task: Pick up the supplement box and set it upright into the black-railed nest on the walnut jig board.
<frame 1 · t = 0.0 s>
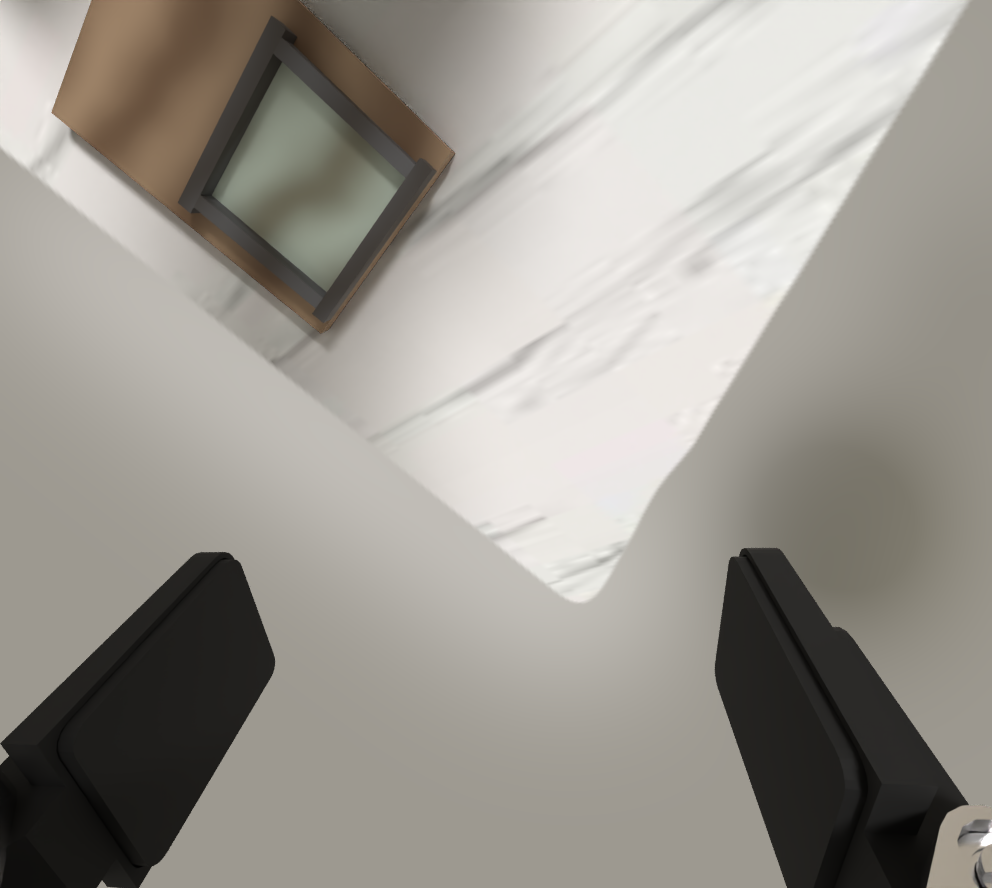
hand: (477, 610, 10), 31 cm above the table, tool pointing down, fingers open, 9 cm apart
jig board: (259, 134, 35), on the table
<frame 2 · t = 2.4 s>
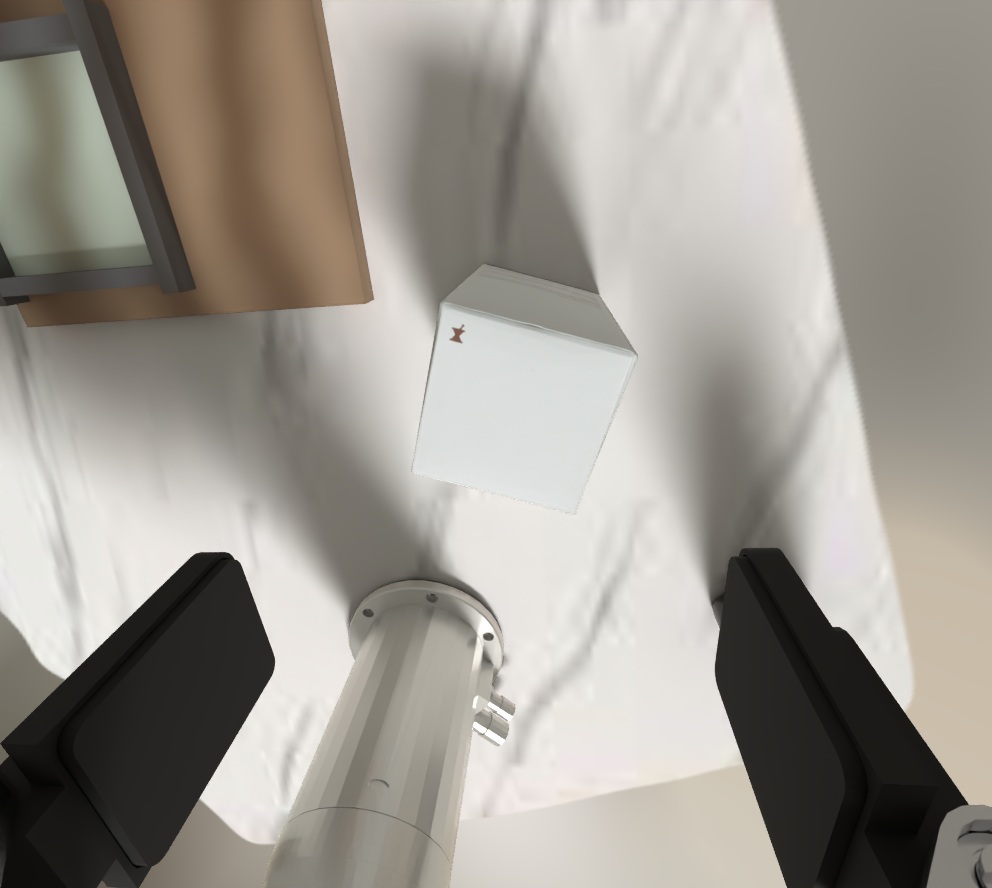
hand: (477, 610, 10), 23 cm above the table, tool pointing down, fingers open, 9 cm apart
jig board: (159, 166, 28), on the table
supplement box: (526, 338, 31), on the table
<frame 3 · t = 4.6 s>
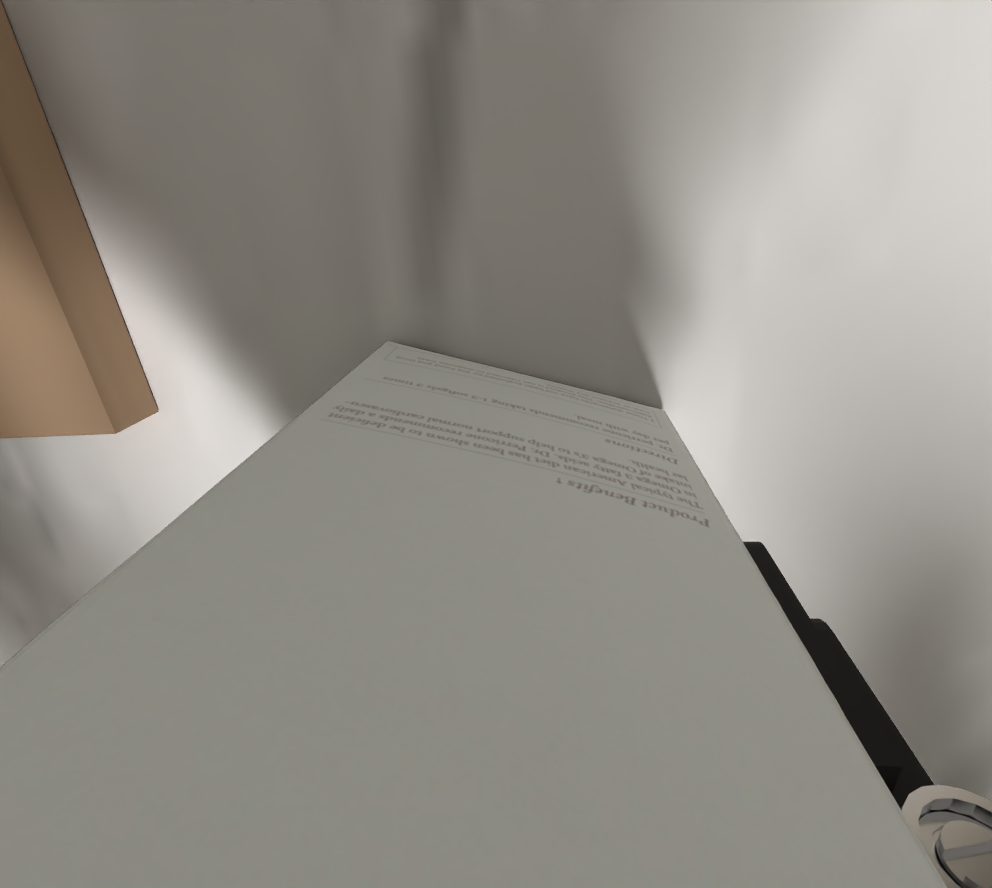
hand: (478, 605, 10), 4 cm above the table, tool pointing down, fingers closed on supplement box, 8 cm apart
supplement box: (497, 492, 14), on the table, touching gripper
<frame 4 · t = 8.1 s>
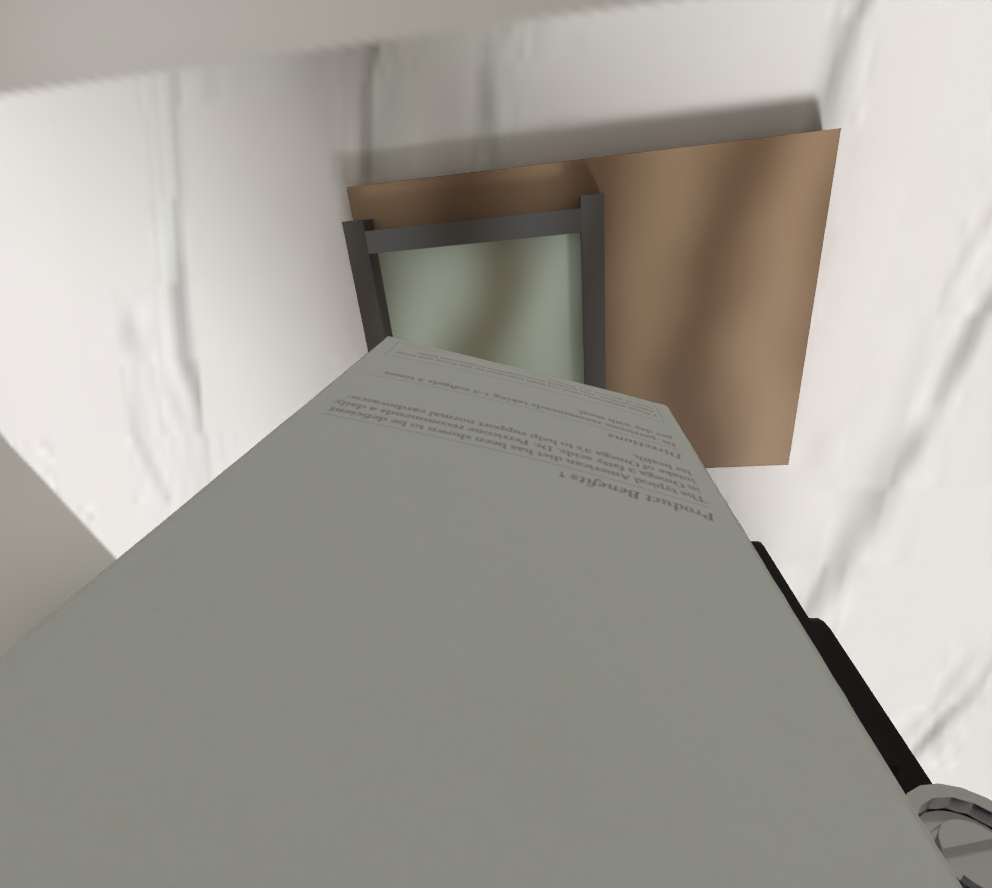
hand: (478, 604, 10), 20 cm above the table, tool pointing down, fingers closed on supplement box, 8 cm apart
jig board: (581, 329, 28), on the table
supplement box: (499, 489, 14), point 16 cm above the table, touching gripper
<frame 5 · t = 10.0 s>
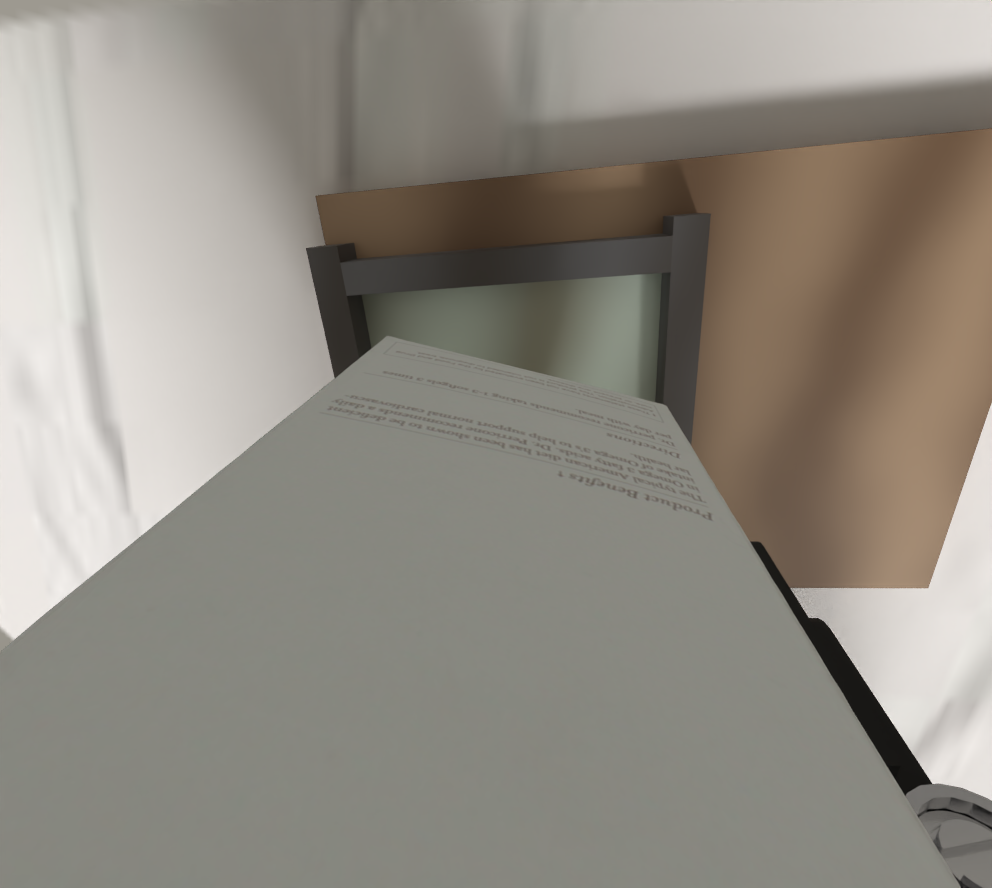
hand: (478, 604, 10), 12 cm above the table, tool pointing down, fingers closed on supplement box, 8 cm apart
jig board: (646, 398, 20), on the table
supplement box: (498, 488, 14), point 7 cm above the table, touching gripper
when the fingers open (6 cm above the table, at t = 11.6 s): supplement box stays where it is, resting on jig board.
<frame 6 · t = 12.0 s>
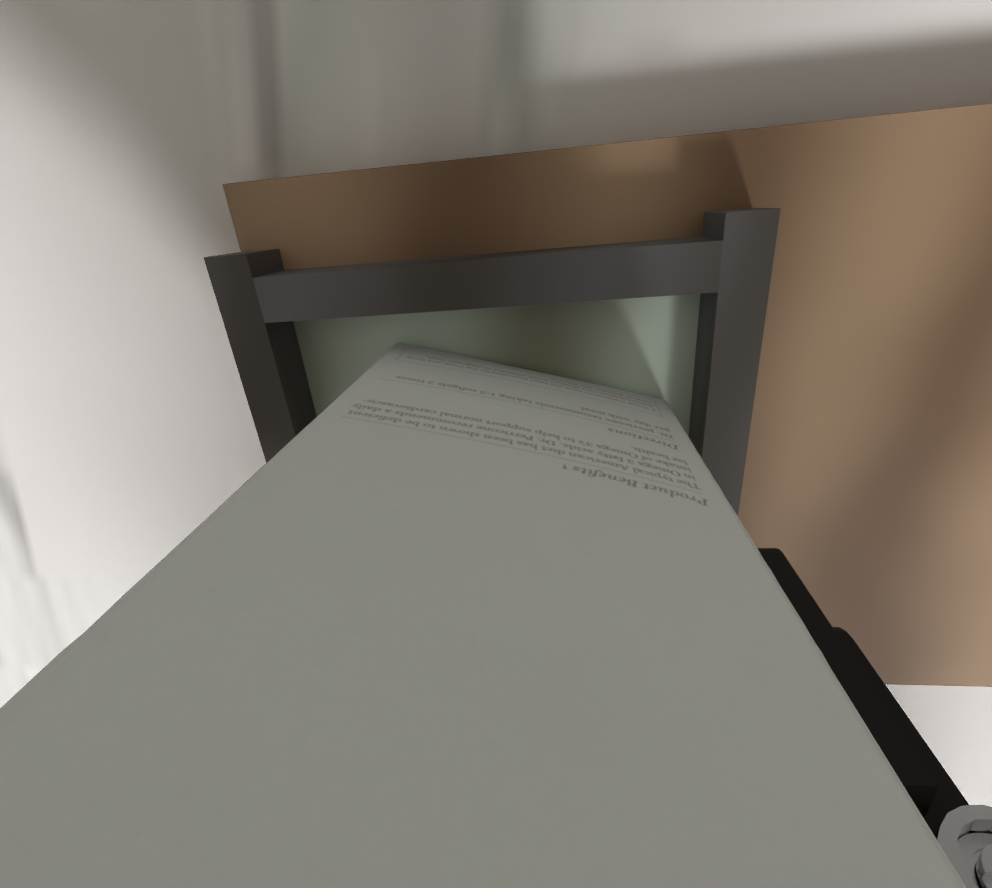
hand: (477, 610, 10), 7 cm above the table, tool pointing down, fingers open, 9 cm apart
jig board: (671, 448, 15), on the table
supplement box: (507, 484, 15), point 1 cm above the table, touching jig board
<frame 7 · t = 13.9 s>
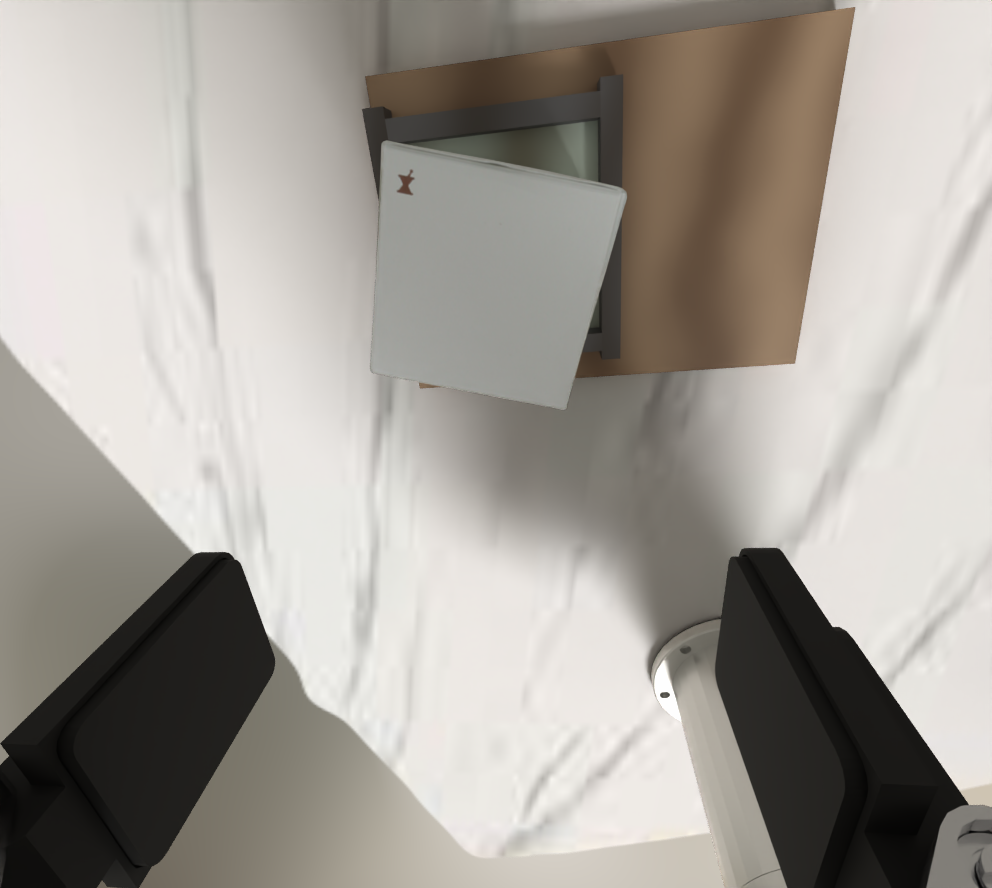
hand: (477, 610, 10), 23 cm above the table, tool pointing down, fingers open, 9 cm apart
jig board: (595, 230, 28), on the table
supplement box: (506, 246, 27), point 1 cm above the table, touching jig board
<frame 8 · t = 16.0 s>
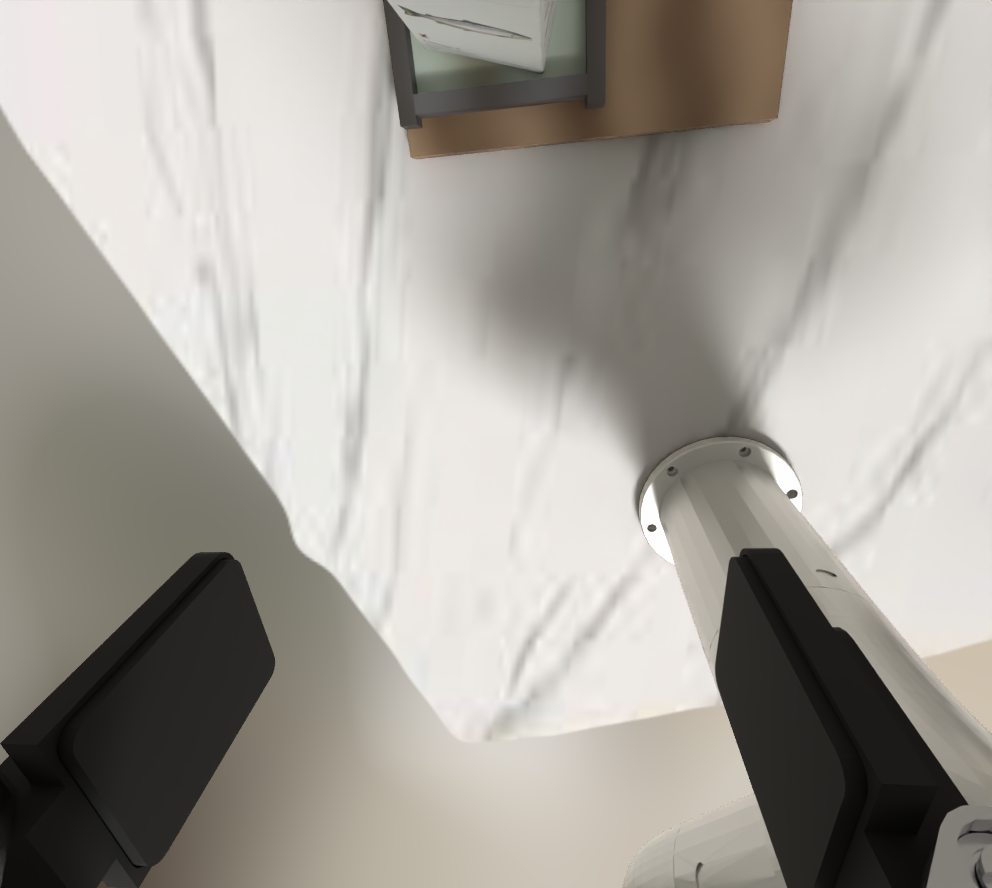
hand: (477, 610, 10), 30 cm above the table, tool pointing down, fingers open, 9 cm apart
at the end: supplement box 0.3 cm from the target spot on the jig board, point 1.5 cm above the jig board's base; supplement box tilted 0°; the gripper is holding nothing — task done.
